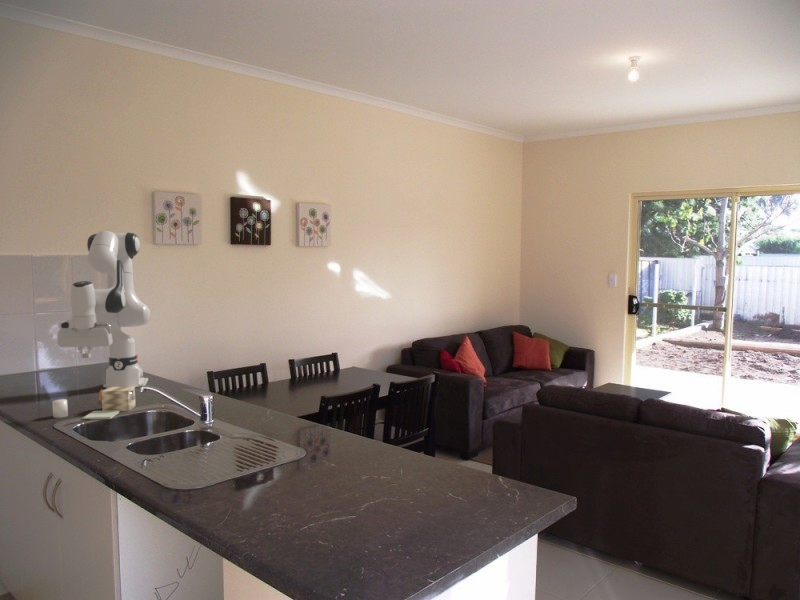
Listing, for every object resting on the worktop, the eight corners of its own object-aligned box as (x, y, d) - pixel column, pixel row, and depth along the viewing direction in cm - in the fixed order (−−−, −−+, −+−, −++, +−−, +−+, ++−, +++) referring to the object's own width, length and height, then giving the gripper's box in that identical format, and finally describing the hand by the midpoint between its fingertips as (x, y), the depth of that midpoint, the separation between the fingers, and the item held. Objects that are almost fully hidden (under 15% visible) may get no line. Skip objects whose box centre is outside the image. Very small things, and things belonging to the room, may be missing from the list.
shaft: (98, 406, 245) (97, 391, 245) (104, 402, 251) (103, 388, 251) (129, 405, 246) (128, 390, 246) (134, 401, 252) (133, 387, 252)
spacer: (56, 414, 242) (56, 399, 241) (70, 414, 242) (69, 398, 242) (50, 418, 237) (49, 402, 236) (64, 417, 237) (63, 402, 237)
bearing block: (102, 412, 245) (101, 391, 244) (110, 406, 252) (109, 386, 252) (128, 411, 245) (127, 390, 245) (135, 406, 253) (134, 386, 253)
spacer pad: (93, 412, 243) (93, 410, 243) (120, 412, 244) (119, 410, 244) (82, 419, 233) (82, 417, 233) (110, 418, 234) (110, 416, 234)
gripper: (114, 321, 248) (116, 356, 249) (63, 322, 248) (65, 356, 249) (107, 323, 241) (108, 358, 242) (54, 324, 241) (56, 359, 242)
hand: (86, 357), depth 246 cm, fingers closed
